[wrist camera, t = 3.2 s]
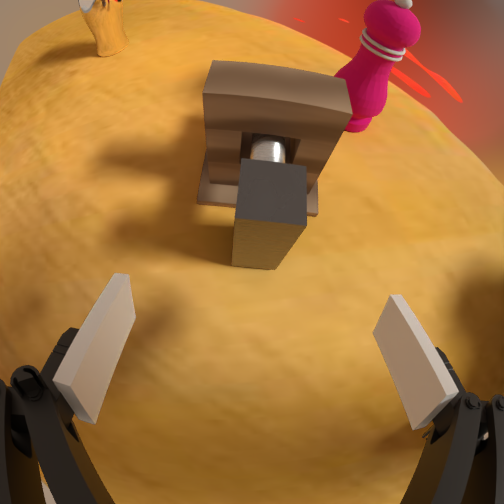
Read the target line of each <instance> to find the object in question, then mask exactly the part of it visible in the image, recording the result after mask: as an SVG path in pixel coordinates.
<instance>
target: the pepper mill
mask: <svg viewBox="0 0 504 504" xmlns="http://www.w3.org/2000/svg"><path fill="white" fill-rule="evenodd" d="M411 6H412V1H411V0H395V2H392V1H388V0H378V1H375V2H373V3H371V4H370V5H369V6H368V7H367V9H366V11H365V14H364V22H365V24H366V26H367V28H365V29H363V31H362V33H363V34H362V35H361V36H360V41H361V46H360V49H359V51H358V53H357V54H356V56H355V57H354V58H353V59H352V60H351V61H350V62H349V63H348V64H347V65H345V66H344V67H343V68H341V69H340V70H339V71H338V72H337V73H336V74H335V75H334V77H337V78H341V79H345V81H346V85H347V89H348V94H349V98H350V103H351V108H352V113H353V115H352V116H351V118H350V120H349V122H348V124H347V126H346V128H345V129H344V130H346V131H350V132H361V131H363V130H365V129H366V128H367V126H368V125H369V123H370V122H371V120H372V117H374V116H377V115H378V114H379V113H380V112H381V111H382V110H383V108H384V106H385V103H386V99H387V86H388V77H389V73H390V71H391V68H392V66H393V65H394V63H395V62H396V61H400V60H401V59H402V56H403V55H404V54H405V47H410V46H413V45H414V44H415V43H416V42H417V41H418V39H419V37H420V33H421V27H420V23H419V21H418V19H417V18H416V17H415V15H414V14H413V13H412V12H411V11H410V10H408V8H410V7H411Z"/></svg>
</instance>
